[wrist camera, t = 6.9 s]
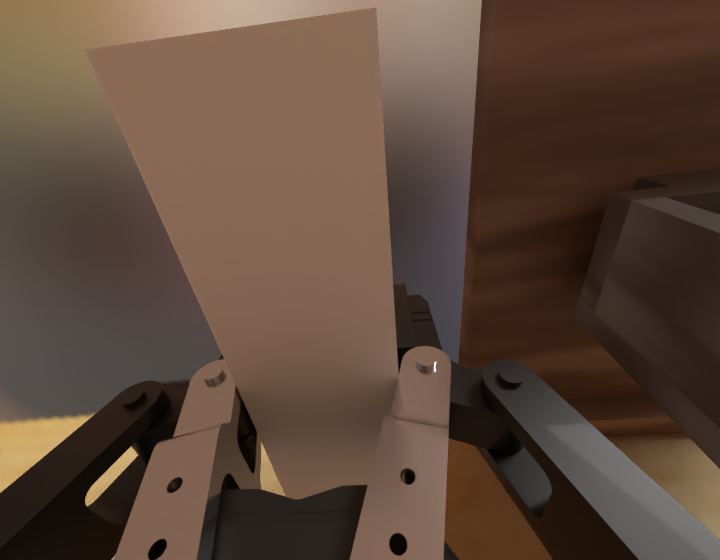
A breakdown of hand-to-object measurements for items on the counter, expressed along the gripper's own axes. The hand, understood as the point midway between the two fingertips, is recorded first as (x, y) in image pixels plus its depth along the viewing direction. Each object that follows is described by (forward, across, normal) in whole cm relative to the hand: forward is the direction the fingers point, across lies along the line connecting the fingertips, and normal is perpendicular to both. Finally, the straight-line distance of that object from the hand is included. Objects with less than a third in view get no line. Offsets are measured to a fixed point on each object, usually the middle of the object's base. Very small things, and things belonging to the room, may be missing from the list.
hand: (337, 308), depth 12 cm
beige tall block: (-3, 0, +10) cm, 10 cm away
